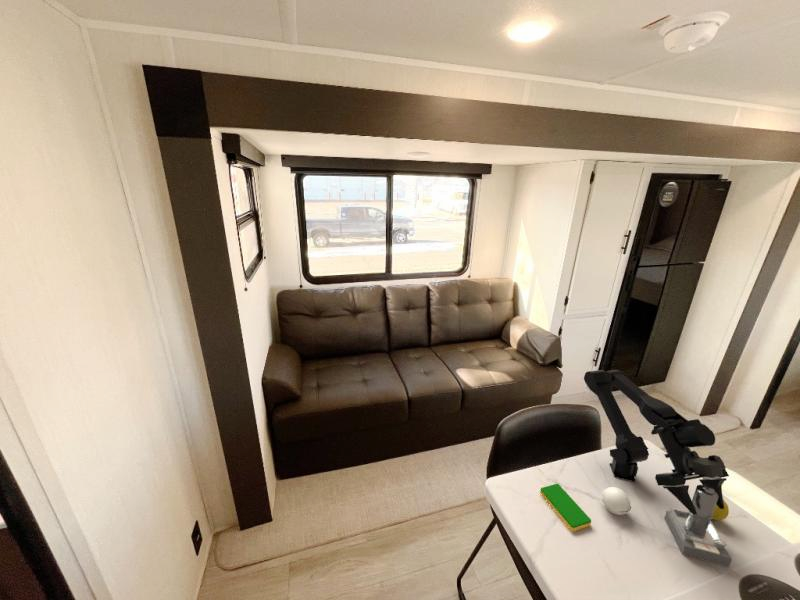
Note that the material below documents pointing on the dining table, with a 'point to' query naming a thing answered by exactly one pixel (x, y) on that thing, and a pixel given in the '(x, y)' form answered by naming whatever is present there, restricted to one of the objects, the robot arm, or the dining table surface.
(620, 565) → the dining table surface
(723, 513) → the lemon
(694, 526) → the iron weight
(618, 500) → the white egg
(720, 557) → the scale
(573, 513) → the dish sponge
